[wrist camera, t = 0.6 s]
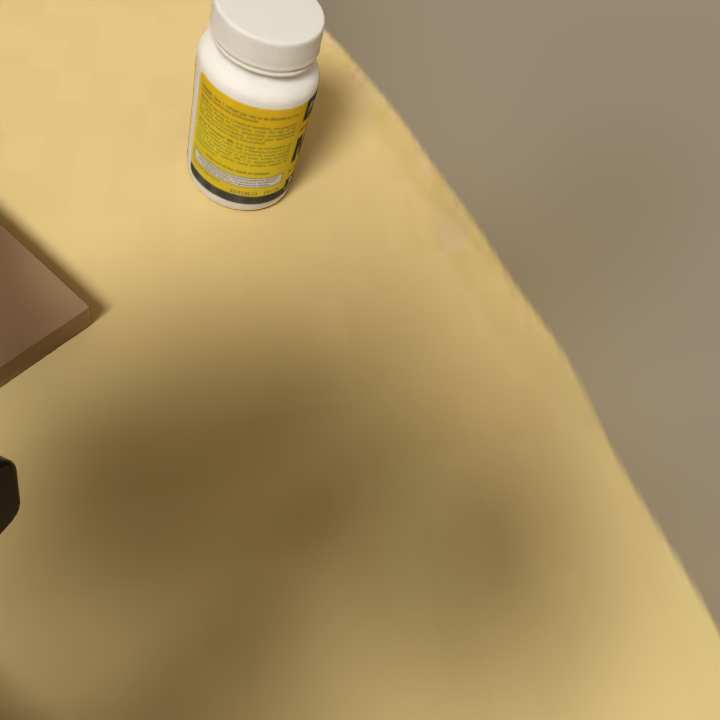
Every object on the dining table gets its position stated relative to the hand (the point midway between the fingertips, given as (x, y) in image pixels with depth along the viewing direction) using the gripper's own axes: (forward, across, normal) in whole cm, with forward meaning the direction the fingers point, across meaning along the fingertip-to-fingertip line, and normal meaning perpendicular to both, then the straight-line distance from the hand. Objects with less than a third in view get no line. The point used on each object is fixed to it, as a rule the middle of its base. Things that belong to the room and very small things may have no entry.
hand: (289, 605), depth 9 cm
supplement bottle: (+21, +13, +1) cm, 25 cm away
